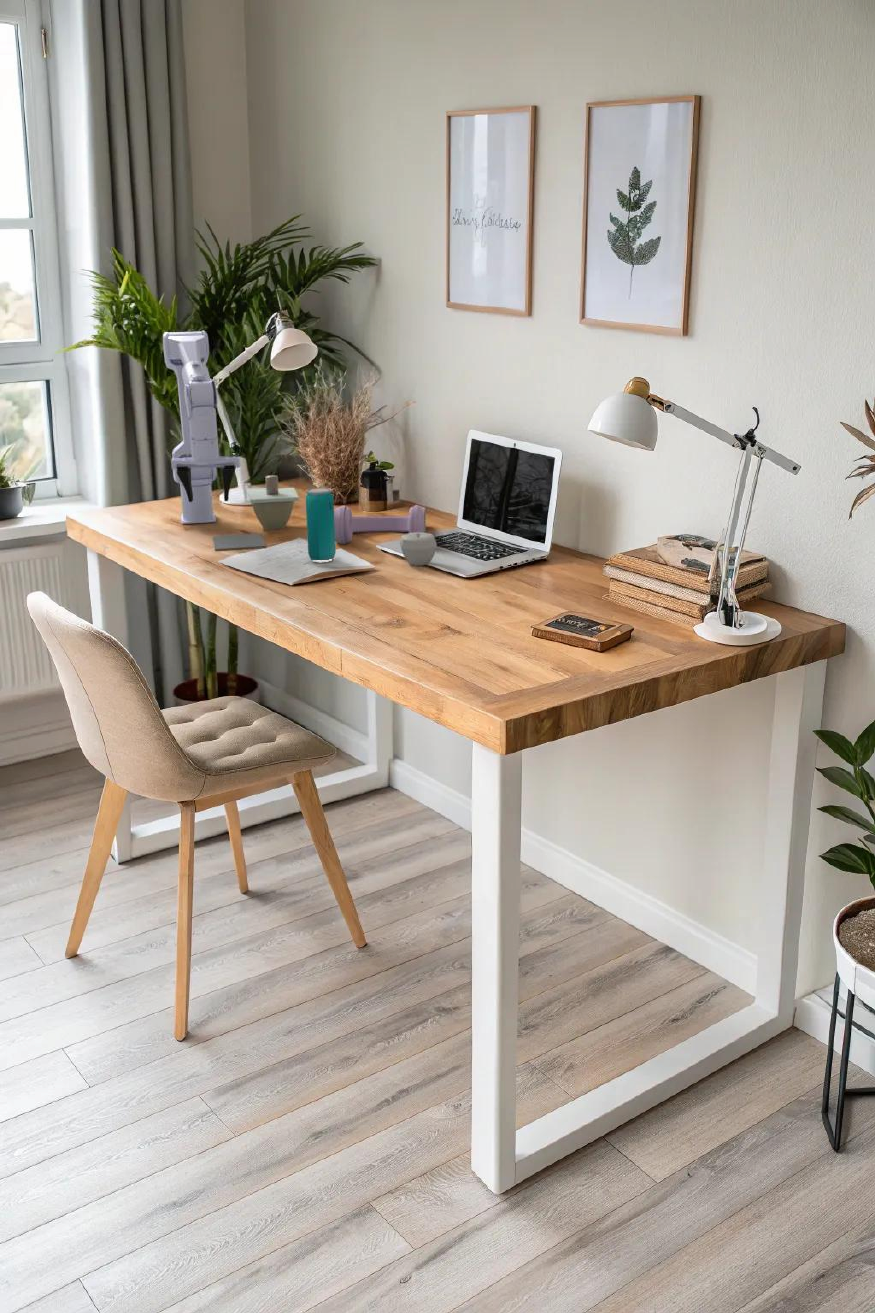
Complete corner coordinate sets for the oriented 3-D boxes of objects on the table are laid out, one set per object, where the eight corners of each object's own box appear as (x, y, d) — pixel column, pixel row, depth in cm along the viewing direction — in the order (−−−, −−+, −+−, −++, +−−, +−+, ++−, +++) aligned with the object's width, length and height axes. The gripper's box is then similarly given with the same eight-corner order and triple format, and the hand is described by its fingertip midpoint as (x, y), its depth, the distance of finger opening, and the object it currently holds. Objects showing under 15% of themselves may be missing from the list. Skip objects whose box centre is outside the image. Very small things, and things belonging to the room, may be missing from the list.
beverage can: (338, 557, 264) (335, 487, 259) (333, 564, 259) (330, 492, 254) (311, 556, 265) (308, 486, 260) (306, 563, 259) (302, 492, 254)
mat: (212, 537, 282) (212, 536, 281) (261, 534, 284) (261, 533, 284) (215, 550, 270) (215, 549, 270) (266, 547, 273) (266, 545, 272)
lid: (247, 493, 292) (245, 473, 291) (293, 490, 295) (292, 470, 293) (250, 503, 282) (249, 482, 281) (299, 500, 284) (297, 479, 283)
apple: (444, 565, 257) (444, 534, 255) (411, 571, 253) (411, 539, 251) (425, 557, 263) (424, 526, 261) (392, 562, 259) (391, 531, 257)
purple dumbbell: (332, 513, 269) (341, 483, 287) (335, 555, 274) (343, 523, 291) (423, 512, 269) (427, 483, 286) (424, 555, 273) (427, 523, 291)
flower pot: (304, 526, 291) (303, 496, 289) (271, 534, 284) (269, 503, 282) (276, 520, 298) (275, 490, 295) (243, 527, 291) (241, 497, 288)
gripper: (167, 442, 263) (172, 505, 267) (236, 440, 264) (240, 503, 268) (171, 436, 270) (177, 498, 274) (239, 434, 270) (243, 496, 275)
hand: (208, 500), depth 272 cm, fingers open, 7 cm apart
